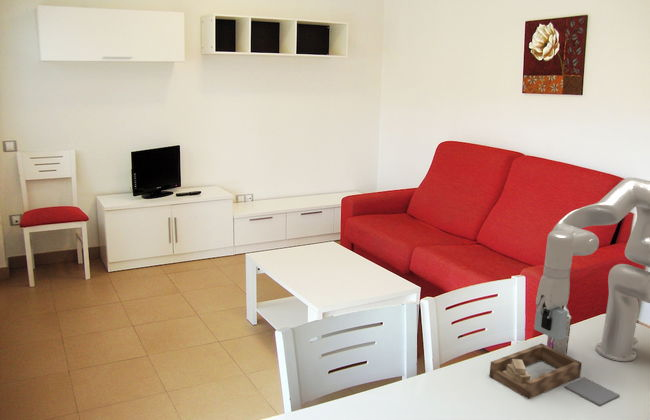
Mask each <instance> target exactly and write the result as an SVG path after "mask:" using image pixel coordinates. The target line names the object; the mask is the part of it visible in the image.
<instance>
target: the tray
mask: <svg viewBox="0 0 650 420" xmlns="http://www.w3.org/2000/svg"><path fill="white" fill-rule="evenodd" d="M512 359H520V360H522V361H523V363H524V366H525V367H527V366H530V365H532V364H534V363H537V362H539V361H540V362H541V361H542V362H544V363H545V364H547V365H550V366H551V367H553V368H554V369H553V370H551V371H548V372H546V373H543V374H541V375H538V376H536V377H534V378H530V380H528V381H526V386H525V385H523V384H522V383H520V382H518V381H516V380H515V379H513V378H511V377H509V376H507V375H506V374H504V373H502V371H505V370H507V364H512ZM582 364H583V363H582V362H581V361H579V360H576V359H575V358H573V357H571V356H569V355H568V354H567V355H565V354H562V353H560V352H558V351H556V350H554V349H552V348H550V347H548V346H547V344H544V343H539V344H536V345H534V346H531V347H528V348H525V349H523V350H520V351H517V352H514V353H512V354H509V355H506V356H503V357H500V358H497V359H495V360H491V361H490V365H489V374H488V375H489V377H490V378H491V379H493V380H494V381H496V382H498V383H500V384H502V385H504V386H506V387H507V388H509V389H511V390H513V392H516V393H517V394H520V395H521V396H522V397H524V398H526V399H527V400H529V399H532V398H534V397H538V396H540V395H541V394H543V393H546V392H548V391H550V390H553V389H555V388H557V387H559V386H563V385H564V384H565V385H566V384H568V383H570V382H571V381H572V382H573V381H574V380H576V379H580V376H581V370H582Z"/></svg>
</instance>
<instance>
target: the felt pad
mask: <svg viewBox="0 0 650 420" xmlns="http://www.w3.org/2000/svg"><path fill="white" fill-rule="evenodd" d="M563 388H564V389H566V390H568V391H570V392H572V393H574V394H576V395H577V396H579V397H581V398H583V399H584V400H587V401H588V402H590V403H592V404H594V405H597V406H598V407H601V406H603V405H605V404H607V403H610V402H612V401H614V400H617V399H618V398H620V394H618V393H617V392H615V391H612V390H611V389H609V388H607V387H605V386H603V385H601V384H599V383H598V382H597V383H596V382H594V381H593V380H590V379H589V378H587V377H584V376H583V377H582V378H578V379H577V380H575V381H574V380H573V381H572V382H569V383H566V384H565V385H564V387H563Z"/></svg>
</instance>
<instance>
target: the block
mask: <svg viewBox="0 0 650 420" xmlns="http://www.w3.org/2000/svg"><path fill="white" fill-rule="evenodd" d="M537 308H538V306H537V305H536V308H535V309H536V310H535V317H534V325H533V327H534V328H533V329H534V330H535V331H537V332H539V333H541V334H544V335H545V336H547V337H548V336H549V337H552V338H554V339H556V340H561V339H564V338H565V330H566V322H567V315H568V311H569V310H568V311H567V310H564V309H562V308H559V307H558V308H555V309H552V314H551V318H552V324H551V330H550V331H548V330H546V329H544V328H542V327H541V322H542V316H541V313H540V312H537ZM546 311H547V313H548V310H546Z"/></svg>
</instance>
